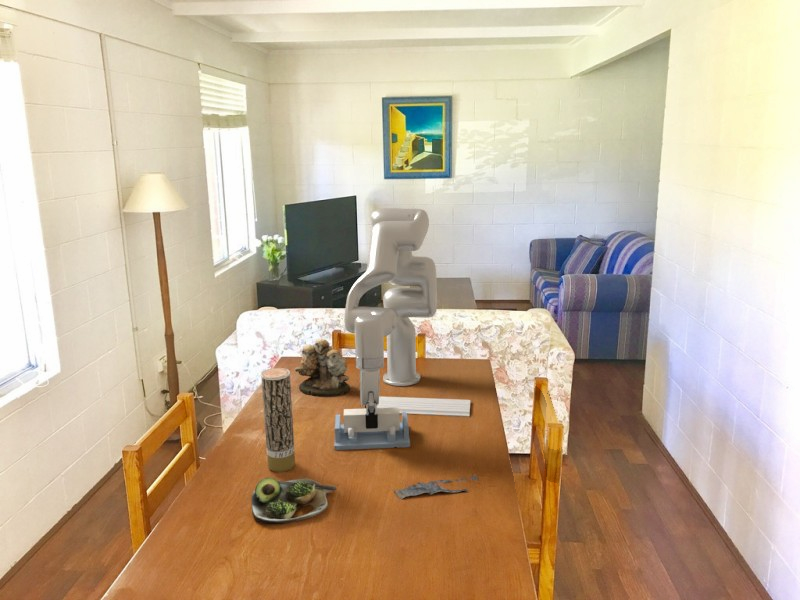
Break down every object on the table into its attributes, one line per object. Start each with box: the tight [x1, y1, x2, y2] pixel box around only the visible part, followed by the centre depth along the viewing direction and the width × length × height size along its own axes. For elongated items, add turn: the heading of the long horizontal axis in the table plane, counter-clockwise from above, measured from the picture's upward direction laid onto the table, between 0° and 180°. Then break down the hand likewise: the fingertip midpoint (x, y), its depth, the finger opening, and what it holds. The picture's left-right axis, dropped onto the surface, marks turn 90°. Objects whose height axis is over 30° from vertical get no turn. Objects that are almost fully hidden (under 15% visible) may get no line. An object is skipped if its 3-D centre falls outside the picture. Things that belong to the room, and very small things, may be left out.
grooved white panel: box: [377, 395, 471, 418], centre depth 198 cm, size 31×3×12 cm
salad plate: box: [250, 477, 337, 526], centre depth 149 cm, size 19×18×5 cm
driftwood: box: [394, 474, 479, 500], centre depth 154 cm, size 21×7×2 cm, turn 99°
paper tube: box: [260, 367, 296, 473], centre depth 162 cm, size 7×7×25 cm
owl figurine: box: [294, 338, 351, 398], centre depth 212 cm, size 18×12×17 cm, turn 81°
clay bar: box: [343, 407, 401, 433], centre depth 179 cm, size 15×4×5 cm, turn 93°
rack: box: [333, 412, 411, 451], centre depth 179 cm, size 20×13×5 cm, turn 94°
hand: (371, 420), depth 179 cm, fingers open, 9 cm apart
